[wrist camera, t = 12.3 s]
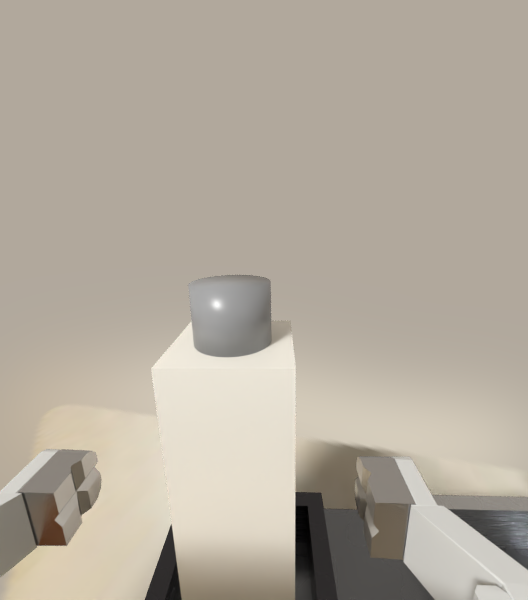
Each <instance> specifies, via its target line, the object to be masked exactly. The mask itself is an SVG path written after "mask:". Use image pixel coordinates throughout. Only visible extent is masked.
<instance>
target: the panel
mask: <svg viewBox="0 0 528 600" xmlns="http://www.w3.org/2000/svg"><path fill="white" fill-rule="evenodd" d="M432 496H433V498H434V499H435V501H436V503H437V505H438V506H445V507H446V508H447V509H448V510H450V511H451V512H452V513H454V514H455V515H456V516H458V517H459V518H460V519H462V520H463V521H464V522H466V523H467V524H468V525H469V526H471V527H472V528H473V529H475V530H476V531H477V532H479V533H480V534H481V535H483V536H484V537H485V538H486V539H488V540H489V541H490V542H492V543H493V544H494V545H496V546H497V547H498V548H500V549H501V550H502V551H503V552H505V553H506V554H507V555H509V556H510V557H511V558H513V559H514V560H515V561H517V562H518V563H519V564H520V565H522V566H523V567H524V568H526V569H527V570H528V497H502V496H453V495H432ZM363 530H364V521H363V520H362V519H361V518H360V517H359V514H358V510H352V509H324V508H323V501H322V495H321V493H307V492H295V600H435V599H434V598H433V597H432V596H431V594H430V593H429V592H428V591H427V590H426V588H425V587H424V586H423V585H422V584H421V582H420V581H419V580H418V579H417V578H416V576H415V575H414V574H413V573H412V572H411V570H410V569H409V568H408V567H407V565H406V564H405V563H404V562H403V561H404V560H399V559H385V558H371V557H370V554H369V551H368V547H367V543H366V540H365V536H364V533H363ZM145 600H182V598H181V591H180V583H179V575H178V568H177V560H176V553H175V545H174V538H173V530H172V524H171V526H170V529H169V532H168V535H167V538H166V541H165V543H164V546H163V549H162V552H161V555H160V558H159V561H158V563H157V566H156V569H155V572H154V575H153V578H152V581H151V583H150V586H149V589H148V592H147V595H146V598H145Z"/></svg>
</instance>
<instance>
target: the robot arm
mask: <svg viewBox="0 0 528 600" xmlns="http://www.w3.org/2000/svg"><path fill="white" fill-rule="evenodd" d="M97 462H98V460H97V455H96V452H93V451H84V450H64V449H62V450H56V449H46V450H44V451H41V452H40V453H39V454H38V455H37V456H36V457H35V458H34V459H33V460H32V461H31V462H30V463H29V464H28V465H27V466H26V467H25V468H24V469H23V470H22V471H21V472H20V473H18V474H17V475H16V476H15V477H14V478H13V479H12V480H11V481H10V482H9V483H8V484H7V485H6V486H5V487H4V488H3V489H2V490H1V491H0V577H2V576H3V575H4V574H5V573H6V572H8V571H9V570H10V569H11V568H12V567H14V566H15V565H16V564H17V563H19V562H20V561H21V560H22V559H23V558H25V557H26V556H27V555H28V554H29V553H31V552H32V551H33V550H34V549H35V548H36V547H37V546H67V545H68V543H69V541H70V540H71V538H72V537H73V535H74V534H75V532H76V531H77V529H78V528H79V526H80V525H81V523H82V514H84V513H85V512H87V511H88V510H89V509H91V508H92V506H93V505H94V503H95V501H96V500H97V498H98V495H99V492H100V489H101V475H100V472H99V471H98V470H97V469H96V468H95V465H96V464H97ZM356 469H357V472H358V477H357V478H356V479H355V500H356V505H357V510H358V514H359V517H360V518H361V519H362V520H363V521H364V530H363V533H364V536H365V540H366V543H367V547H368V551H369V554H370V557H371V558H385V559H399V560H404V561H403V562H404V563H405V564H406V565H407V567H408V568H409V569H410V570H411V572H412V573H413V574H414V575H415V576H416V578H417V579H418V580H419V581H420V582H421V584H422V585H423V586H424V587H425V588H426V590H427V591H428V592H429V593H430V594H431V596H432V597H433V598H434V599H435V600H528V570H527V569H526V568H524V567H523V566H522V565H520V564H519V563H518V562H517V561H515V560H514V559H513V558H511V557H510V556H509V555H507V554H506V553H505V552H503V551H502V550H501V549H500V548H498V547H497V546H496V545H494V544H493V543H492V542H490V541H489V540H488V539H486V538H485V537H484V536H483V535H481V534H480V533H479V532H477V531H476V530H475V529H473V528H472V527H471V526H469V525H468V524H467V523H466V522H464V521H463V520H462V519H460V518H459V517H458V516H456V515H455V514H454V513H452V512H451V511H450V510H448V509H447V508H446V507H445V506H438V505H437V503H436V501H435V499H434V498H433V496H432V494H431V492H430V490H429V489H428V487H427V485H426V483H425V481H424V480H423V478H422V476H421V474H420V473H419V471H418V469H417V467H416V465H415V464H414V462H413V460H412V459H411V458H410V457H366V456H358V457H357V461H356Z"/></svg>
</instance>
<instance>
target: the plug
mask: <svg viewBox="0 0 528 600" xmlns="http://www.w3.org/2000/svg"><path fill="white" fill-rule="evenodd" d="M270 286H271V285H270V280H269V279H267V278H264V277H260V276H251V275H225V276H214V277H208V278H202V279H198V280H195V281H193V282H191V283H189V297H190V308H191V319H192V321H191V322H190V323H189V325H188V326H187V327H186V328H185V329H184V331H183V332H182V333H181V334H180V335H179V336H178V338H177V339H176V340H175V341H174V342H173V344H172V345H171V346H170V347H169V348H168V350H166V352H165V353H164V354H163V355H162V356H161V358H160V359H159V360H158V361H157V362H156V364H155V365H154V366H153V367H152V368H151V371H152V379H153V387H154V394H155V402H156V408H157V417H158V424H159V432H160V439H161V447H162V455H163V462H164V470H165V477H166V485H167V492H168V500H169V507H170V515H171V523H172V530H173V538H174V545H175V553H176V560H177V568H178V575H179V583H180V591H181V598H182V600H295V435H296V430H295V429H296V424H295V423H296V418H295V417H296V415H295V413H296V408H295V407H296V404H295V403H296V367H295V358H294V349H293V341H292V331H291V322H290V321H271V287H270Z"/></svg>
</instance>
